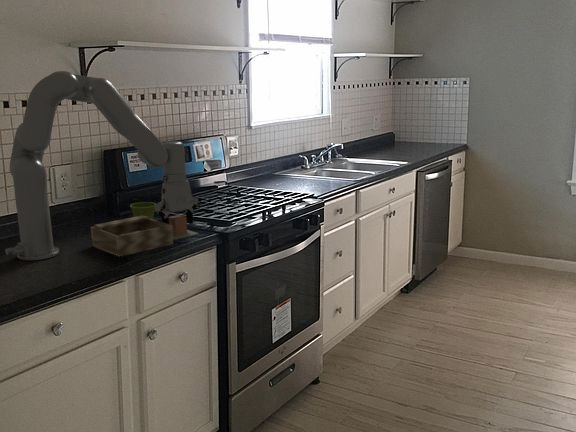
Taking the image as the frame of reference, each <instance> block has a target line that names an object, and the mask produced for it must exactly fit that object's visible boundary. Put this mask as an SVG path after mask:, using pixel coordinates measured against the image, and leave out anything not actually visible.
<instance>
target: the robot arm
mask: <svg viewBox="0 0 576 432" xmlns="http://www.w3.org/2000/svg"><path fill="white" fill-rule="evenodd" d="M27 98H28V100H27V103H26V107H25V111H24V115H23V120H22V122H21V123H20V124H19V125H18V126H17V128H16V131H15V134H14V138H13V139H14V140H13V144H12V149H11V155H10V161H9V172H10V175H11V177H12V180H13V188H14V189H13V190H14V197H15V198H14V199H15V206H16V207H15V208H16V213H17V222H18V230H19V239H20V242H17V245H15V246H14V247H8V248H5V254H6V255H7V256H8V255H16V258H17V259H18V258H19V260H22V261H38V260H40V261H41V260H46V259H50V258H53V257H56V256H57V255H58V254H60V248H59V247H56V246H54V239H53V230H52V229H53V228H52V222H51V221H52V220H51V213H50V205H49V196H48V193H49V192H48V177H47V176H48V175H47V170H46V168H45V165H44V164H43V159H44V153H45V151H46V149H47V148H48V147H49V146H50V144H51V140H52V138H51V137H52V131H53V125H54V122H55V121H54V120H55V116H56V112H57V109H58V107H59V105H60V103H62V101H64V100H68V101H69V100H70V101H74V102H82V103H89V104H93V105H94V106H95V107H96V108H97V110H98V111H99V112H100V113H101V114H102V116H103V117H104V118H105V119H106V121H107V122H108V123H109V124H110V125H111V127H112V128H113V129H114V130H115V131H116V132H117V133H118V134H119V135H121V136H122V137H123V138H125V139H126V140H127V141H128V142H130V143H131V145H133V147H134V148H135V149H136V150H137V157H138V159H139V161H140V162H142V163H143V164H145V165H147V166H149V167H152V168H156V169H157V168H161V167H162V168H163V174H162V176H161V177H160V180H161V181H163V182H162V187H161V201H159V202H158V203H156V206H154V209H155V210H154V211H155V212H156V215H158V216H159V217H160V218H161V222H163V223H167V224H169V218H168V217H169V215H170V214H171V213H176V212H181V211H186V212H185V217H186V219H187V224H189V225H193V224H194V213H195V210H196V208H197V205H198V202H199V199H198V198H196V197H194V196H193V195H192V190H191V189H192V188H191V185H190V181H189V180H187V174H186V173H187V172H186V157H185V156H186V155H185V154H186V153H185V145H184V143H183V142H181V141H177V140H176V141H165V142H161V140H159V138H158V137H157V136H156V135H155V134H154V132H153V130H151V129H150V128H149V126H148V125H146V123H145V122H144V121H143V119H142V118H140V116H139V115H138V114H137V113H136V112H135V111H134V110H133V108H132V107H131V106H130V105H129V103H128V102H127V101H126V100H125V99H124V97H123V96H122V95H121V93H120V92H119V91H118V89H117V88H116V87H115V86H114V84H113V83H112V82H111V81H110V80H108V79H106V78H102V77H94V76H93V77H92V76H86V75H80V74H76V73H72V72H70V71H65V70H60V71H59V70H57V71H54V72H51V73H50V74H49V75H47V76H44V77H43V78H41V80H39V81H38V82H37V83H36V84H35V85H34V87H33V88H32V89H31V91H30V93H29V95H28V97H27ZM161 208H162V209H161Z"/></svg>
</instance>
